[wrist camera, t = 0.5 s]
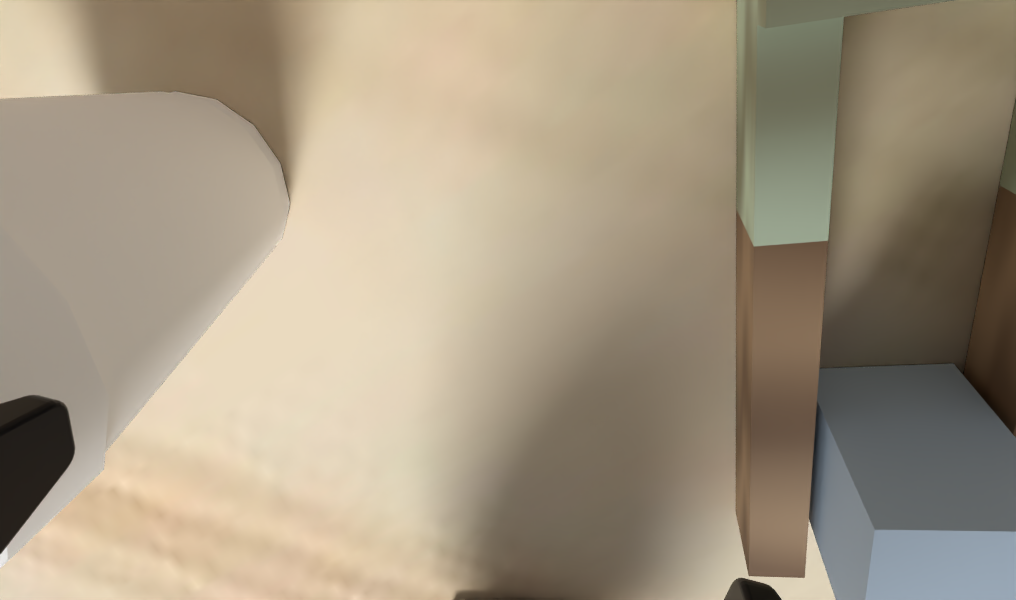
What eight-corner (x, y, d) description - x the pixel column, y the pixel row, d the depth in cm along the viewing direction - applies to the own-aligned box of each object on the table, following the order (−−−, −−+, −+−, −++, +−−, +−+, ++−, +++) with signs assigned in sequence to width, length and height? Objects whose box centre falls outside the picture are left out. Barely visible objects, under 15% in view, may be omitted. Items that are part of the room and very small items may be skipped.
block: (932, 482, 22) (1047, 673, 16) (796, 481, 23) (857, 662, 17) (953, 363, 20) (1095, 532, 14) (803, 369, 21) (874, 529, 15)
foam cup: (233, 347, 25) (-97, 661, 14) (34, 172, 23) (-558, 371, 11) (386, 200, 21) (101, 470, 10) (163, -30, 19) (-550, -33, 7)
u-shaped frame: (993, 513, 23) (1060, 612, 19) (735, 511, 24) (754, 601, 21) (1147, -124, 14) (1317, -155, 11) (737, -51, 16) (767, -58, 13)
